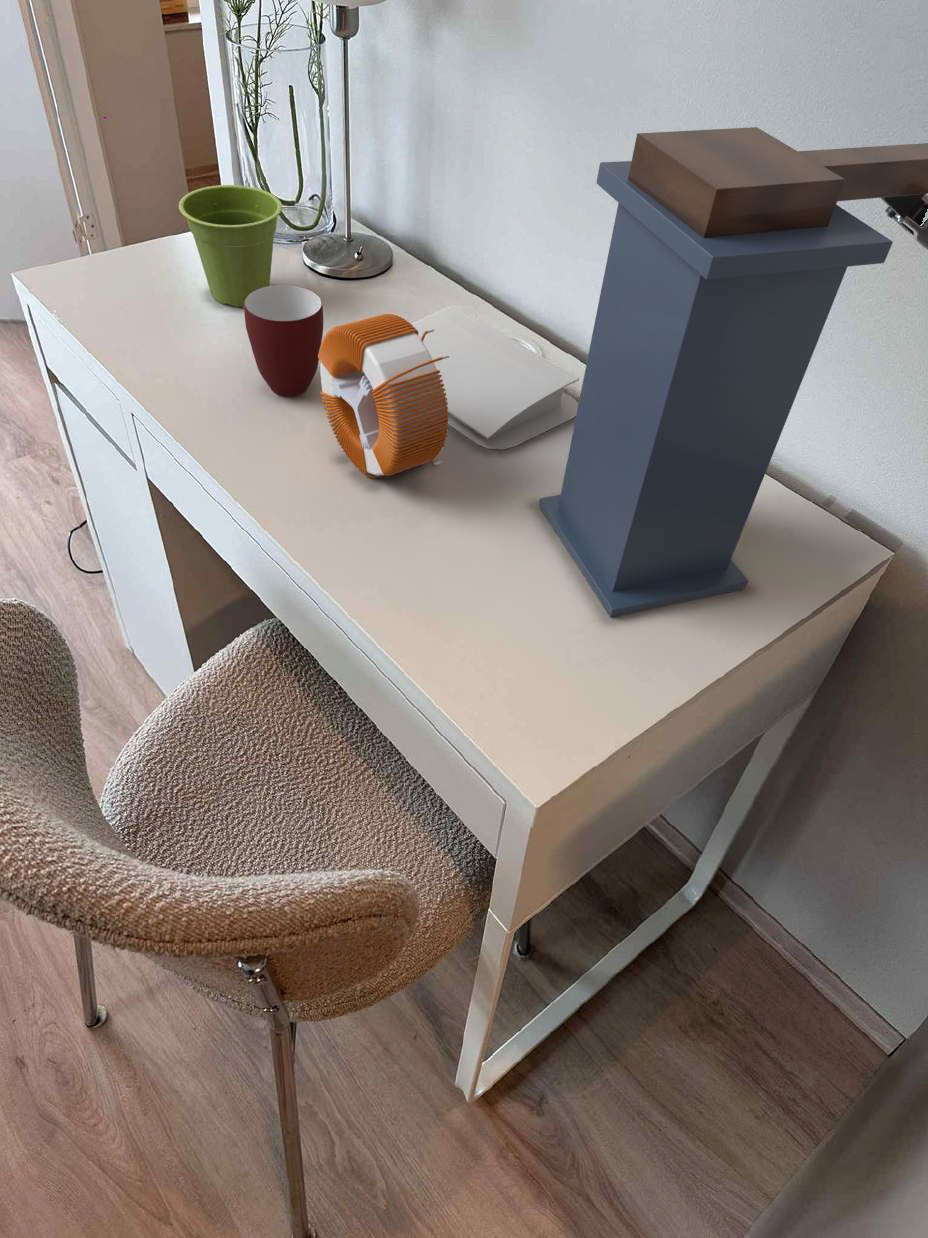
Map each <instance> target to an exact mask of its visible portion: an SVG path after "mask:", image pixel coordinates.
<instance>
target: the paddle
mask: <svg viewBox="0 0 928 1238" xmlns="http://www.w3.org/2000/svg"><path fill="white" fill-rule="evenodd" d="M630 161H631V166H630V171H629V176H628V179H629V180H630V181H631V182H633V183H634V184H635V185H636V186H638V187H639V188H640V189H642V190H643V191H644V192H645V193H647V194H648V195H649V196H651V197H652V198H653V199H654V200H656V201H657V202H658V203H660V204H661V205H662V206H664V207H665V208H666V209H667V210H669V211H670V212H671V213H673V214H674V215H675V216H676V217H678V218H679V219H680V220H682V221H683V222H684V223H685V224H687V225H688V226H689V227H691V228H692V229H693V230H694V231H696V232H697V233H698V234H700V235H701V236H702V237H704V238H706V237H716V236H727V235H737V234H747V233H758V232H768V231H778V230H789V229H799V228H809V227H820V226H828V225H829V223H830V220H831V217H832V214H833V212H834V209H835V206H836V205H838V204H837V203H838V202H847V201H856V200H857V201H858V200H870V199H881V198H882V197H894V196H905V195H917V194H926V195H927V194H928V142H924V143H922V142H921V143H909V144H907V143H906V144H893V145H890V144H889V145H877V146H875V145H874V146H859V147H846V148H843V147H842V148H828V149H815V150H814V149H811V150H796V149H794V148H793V147H791V146H790V145H788V144H786V143H784V142H783V141H781V140H780V139H778V138H776V137H775V136H773V135H771V134H769V133H767V132H766V131H764V130H762V129H761V128H759V127H757V126H754V127H753V126H752V127H751V126H750V127H733V128H716V129H696V130H695V129H694V130H677V131H676V130H675V131H659V132H658V131H656V132H655V131H654V132H638V133H636V137H635V142H634V147H633V151H632V157H631V160H630Z"/></svg>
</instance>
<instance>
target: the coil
mask: <svg viewBox="0 0 928 1238" xmlns="http://www.w3.org/2000/svg"><path fill="white" fill-rule="evenodd" d="M411 324H412V323H411V322H410V321H408V320H407V319H405V318H404V317H402V316H399V315H396V314H394V313H383V314H379V315H375V316H372V317H371V316H370V317H367V318H363V319H360V320H356V321H352V322H347V323H345V324H341V325H337V326H335V327H332V328H331V329H330V330H328V331H327V332H326V333H325V335H324V337H322V342H321V346H320V349H319V354H318V358H319V362H320V365H319V366H320V367H319V368H320V369H319V372H320V373H319V374H320V384H321V391H320V395H321V396H320V398H321V399H322V400H321V402H322V403H323V405H322V406H323V407H324V411H325V415H328V416H327V418H326V419H328V423H329V426H330V427H331V431H333V435H335V436H334V437H335V439H336V440H337V442H338V444H339V446H340V448H341V449H342V451H343V452H344V454H345V455H346V457H347V458H348V459H349V461H350V462H351V463H352V464H353V465H354V466H355V467H356V469H358V470H359V471H360V472H361V473H363V474H364V475H365V476H366V477H368V478H380V477H381V478H382V477H385V476H386V477H390V476H393V475H396V474H398V473H401V472H404V471H408V470H410V469H412V468H415V467H419V466H421V465H423V464H426V463H430V464H431V466H432V467H435V466H438V465H441V464H442V462H441V461H437V462H434V460H435V459H436V458H437V457H438V456H439V455H440V453H441V452H442V450H443V448H444V446H445V444H446V440H447V437H448V430H449V424H448V422H449V420H448V418H449V416H448V413H449V412H448V406H447V405H448V402H446V400H447V398H446V397H445V396H446V393H443V392H444V391H445V390H446V389H445V388H442V387H444V384H441V382H443V379H440V377H442V375H438V373H440V370H437V369H436V366H435V364H434V362H436V361H439V360H442V359H446V358H449V355H446V356H443V357H439V358H436V359H433V360H432V358H431V355H430V353H429V351H428V350H427V348H426V346H425V345H424V343H423V340H424V338H425V335H426V334H427V333H430V332H434V329H430V330H427V331H425V332H424V333H423V336H422V338H421V339H420V337H419V336H418V330H416V328H415V327H413V325H411Z"/></svg>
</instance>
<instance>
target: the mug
mask: <svg viewBox="0 0 928 1238" xmlns="http://www.w3.org/2000/svg"><path fill="white" fill-rule="evenodd" d="M243 311H244V312H243V313H244V323H245V329H246V334H247V336H248V341H249V344H250V347H251V351H252V354H253V357H254V361H255V363H256V367H257V370H258V371H259V374H260V376H261V377H262V379H263V380H264V382H265V383H266V385H267V386H268V387H269V389H270V390H271V391H272V392H273V394H275V395H278V396H280V397H286V398H293V397H299V396H301V395H303V394H305V392H307V390H308V389H309V387H310V386H311V384H312V382H313V380H314V377H315V376H316V373H317V371H318V368H319V362H320V360H319V358H318V354H319V349H320V346H321V343H322V340H323V334H324V307H323V300H322V299H321V297H320V296H319V295H318V294H317V293H316V292H314V291H312V290H310V289H307V288H305V287H302V286H297V285H290V284H276V285H270V286H267V287H263V288H260V289H257V290H255V291H253V292H251V293H250V294H249V295H248V296H247V297H246V298H245V300H244V307H243Z"/></svg>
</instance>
